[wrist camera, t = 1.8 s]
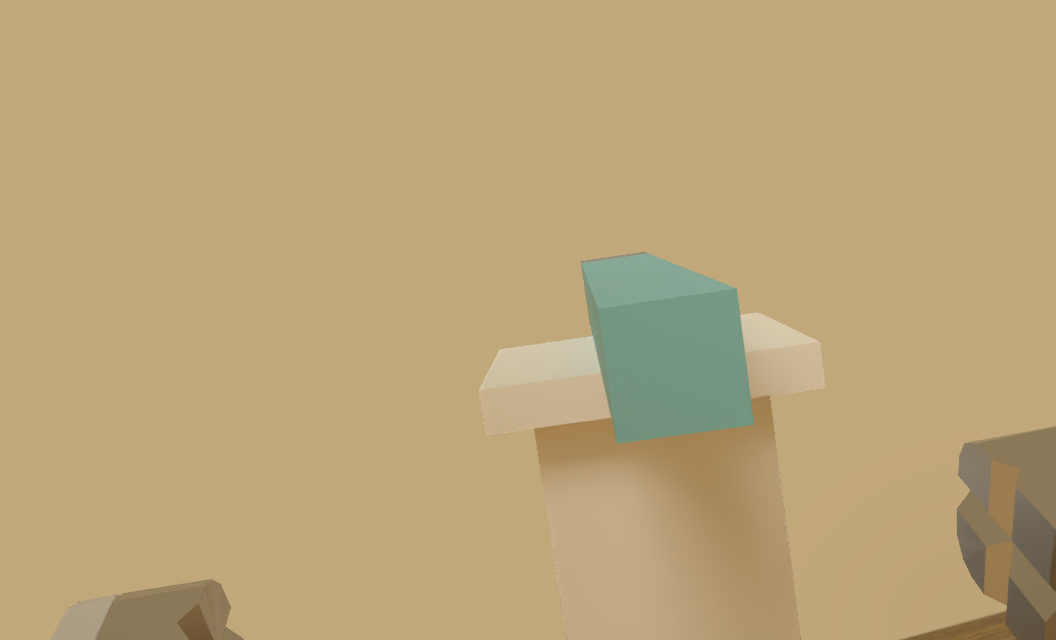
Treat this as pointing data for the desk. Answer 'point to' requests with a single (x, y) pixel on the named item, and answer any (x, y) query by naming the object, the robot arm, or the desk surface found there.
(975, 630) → the desk surface
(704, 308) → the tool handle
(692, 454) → the stand
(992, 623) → the desk surface
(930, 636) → the desk surface
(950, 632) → the desk surface
